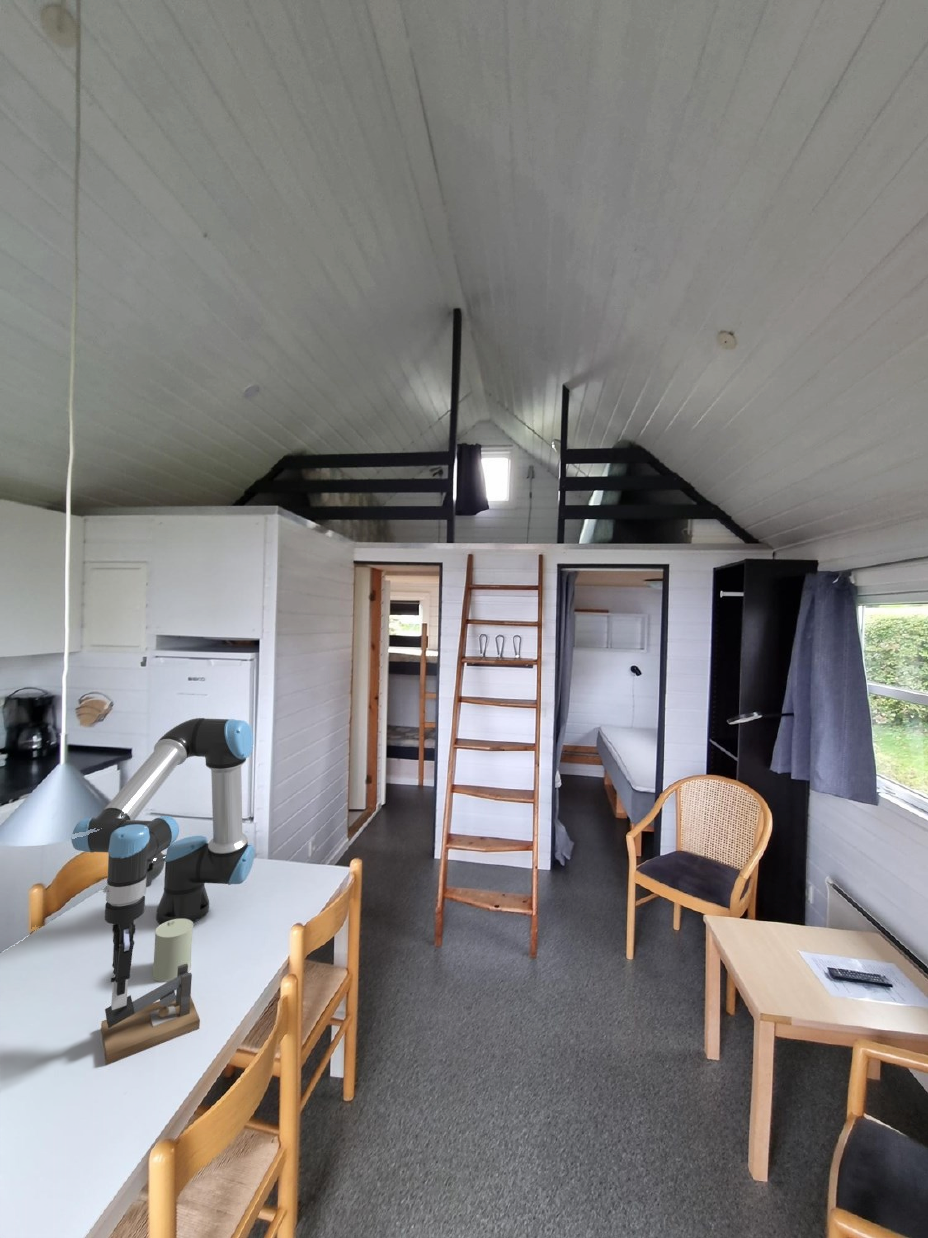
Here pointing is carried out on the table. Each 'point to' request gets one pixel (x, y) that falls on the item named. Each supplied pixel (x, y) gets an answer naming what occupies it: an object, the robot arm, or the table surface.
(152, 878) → the piggy bank
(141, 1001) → the lever
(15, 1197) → the table surface
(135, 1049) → the base
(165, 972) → the can
